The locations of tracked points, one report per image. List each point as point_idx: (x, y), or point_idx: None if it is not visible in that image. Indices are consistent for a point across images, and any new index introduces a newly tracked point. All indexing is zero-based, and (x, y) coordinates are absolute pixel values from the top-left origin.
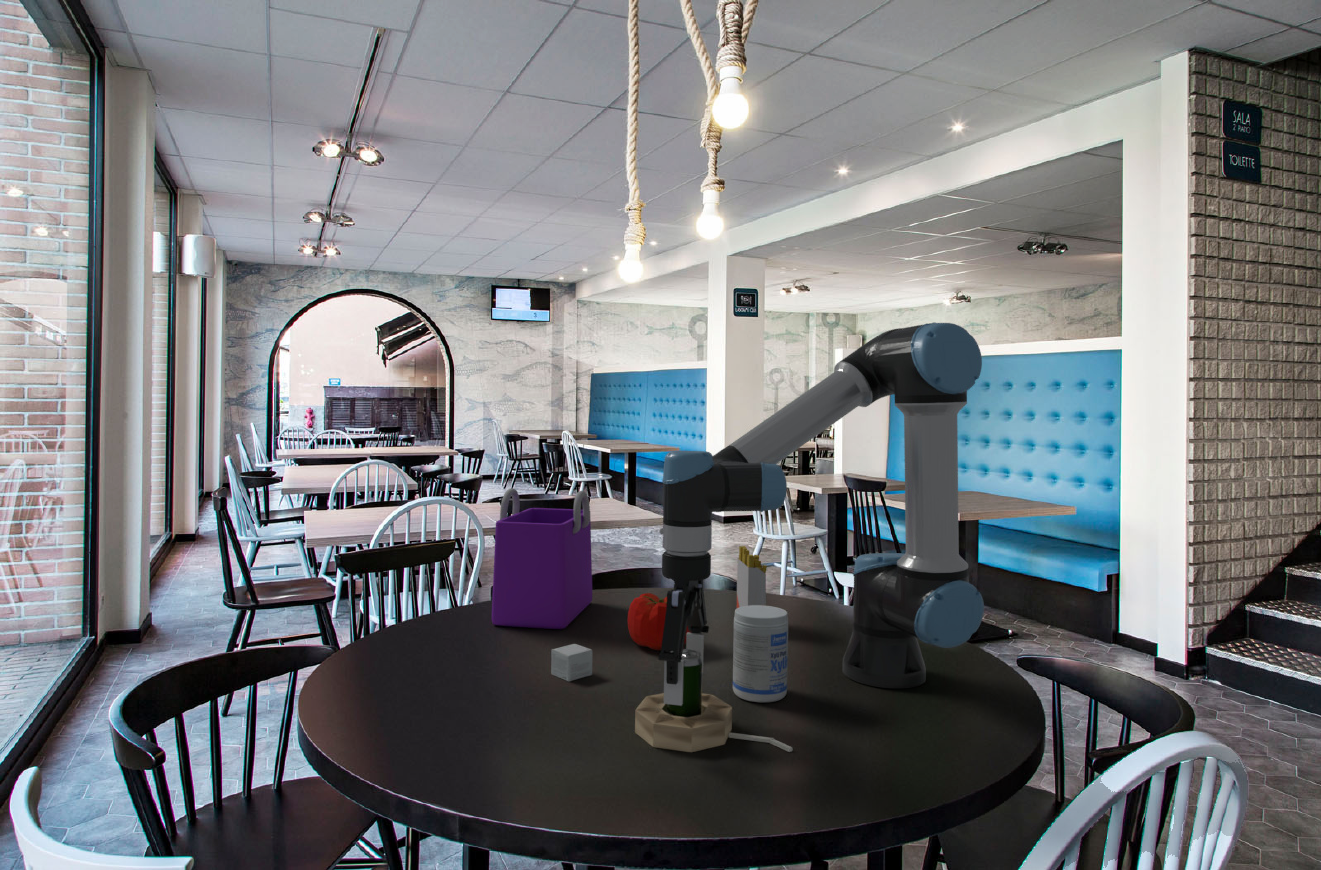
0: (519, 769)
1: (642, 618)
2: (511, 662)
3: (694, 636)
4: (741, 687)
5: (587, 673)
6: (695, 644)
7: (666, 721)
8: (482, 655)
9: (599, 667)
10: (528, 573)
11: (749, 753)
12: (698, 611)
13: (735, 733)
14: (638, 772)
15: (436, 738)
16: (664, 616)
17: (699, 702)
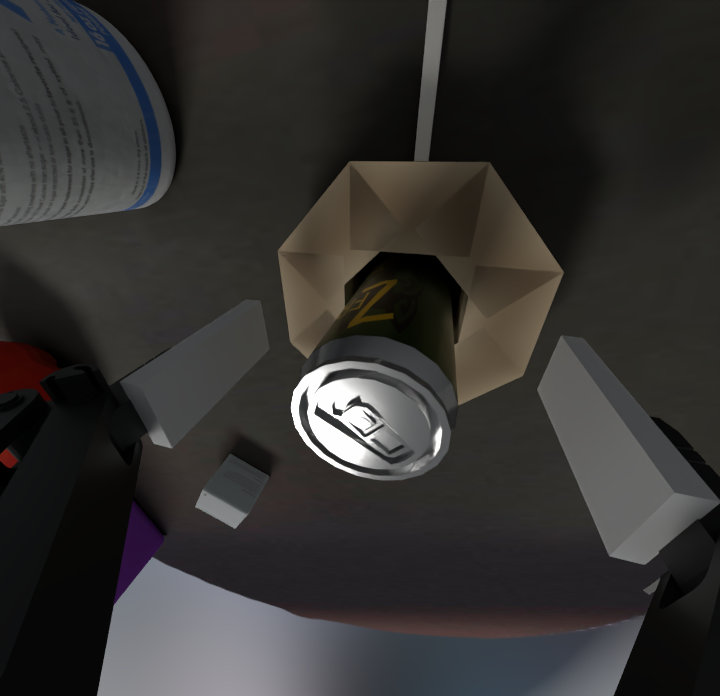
0: None
1: None
2: (247, 524)
3: (166, 412)
4: (151, 172)
5: (237, 461)
6: (194, 382)
7: (504, 347)
8: (245, 543)
9: (200, 446)
10: None
11: (549, 48)
12: (16, 630)
13: (419, 137)
14: (658, 358)
15: (495, 577)
16: None
17: (417, 277)
